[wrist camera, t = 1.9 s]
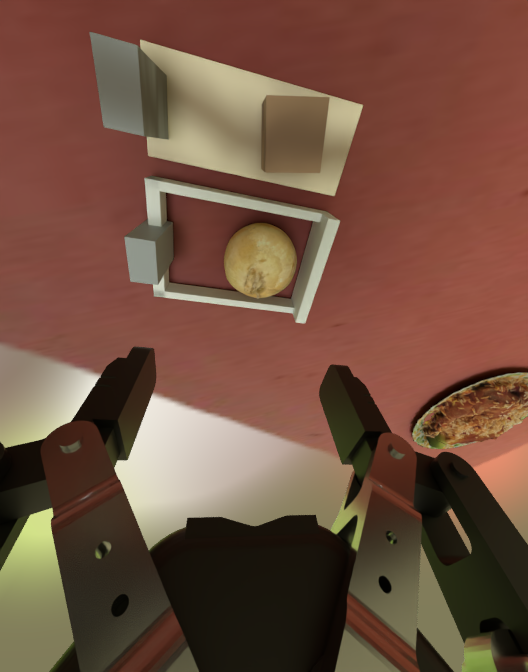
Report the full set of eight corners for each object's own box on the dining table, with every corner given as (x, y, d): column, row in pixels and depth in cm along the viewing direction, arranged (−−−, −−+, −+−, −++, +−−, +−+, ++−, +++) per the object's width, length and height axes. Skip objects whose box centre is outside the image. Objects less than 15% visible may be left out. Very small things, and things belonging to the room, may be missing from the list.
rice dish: (525, 418, 60) (549, 438, 56) (413, 456, 65) (427, 477, 61) (552, 339, 45) (587, 359, 40) (400, 397, 49) (418, 420, 45)
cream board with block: (136, 42, 19) (83, -14, 12) (357, 107, 22) (407, 89, 16) (145, 154, 23) (107, 155, 16) (331, 194, 26) (361, 209, 20)
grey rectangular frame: (145, 174, 24) (117, 182, 18) (326, 211, 27) (349, 227, 21) (154, 286, 31) (135, 316, 25) (297, 305, 34) (309, 335, 28)
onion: (223, 215, 27) (219, 233, 21) (295, 219, 28) (310, 237, 22) (226, 284, 32) (223, 313, 26) (287, 285, 32) (297, 314, 27)
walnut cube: (261, 104, 21) (266, 94, 17) (314, 106, 21) (329, 97, 17) (261, 169, 23) (265, 172, 20) (307, 169, 24) (320, 173, 20)
